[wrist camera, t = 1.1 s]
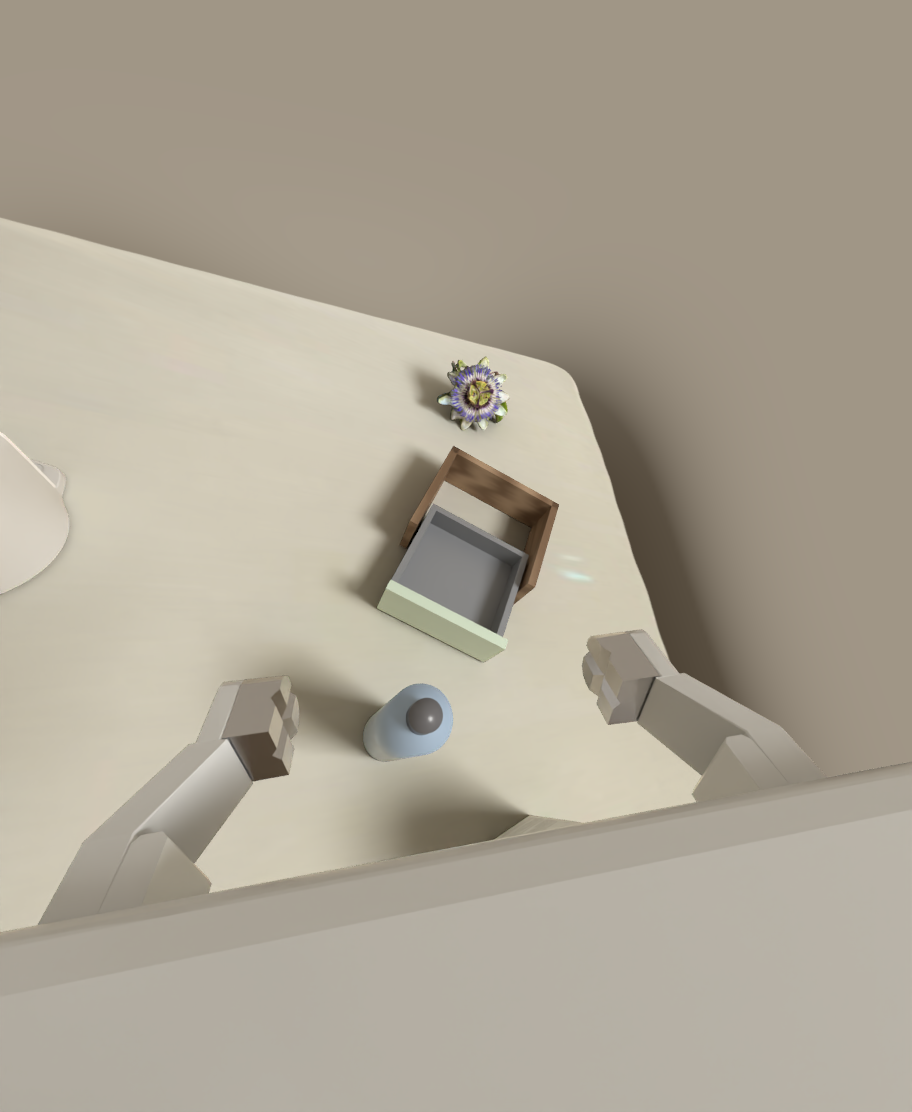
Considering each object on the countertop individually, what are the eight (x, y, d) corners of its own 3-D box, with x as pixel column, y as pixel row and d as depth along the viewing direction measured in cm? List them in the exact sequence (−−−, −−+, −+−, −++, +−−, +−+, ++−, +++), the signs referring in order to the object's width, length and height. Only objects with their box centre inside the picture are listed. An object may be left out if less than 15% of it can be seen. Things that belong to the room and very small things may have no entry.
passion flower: (453, 449, 72) (432, 407, 61) (452, 399, 75) (432, 351, 64) (515, 438, 69) (505, 392, 58) (511, 386, 72) (501, 334, 61)
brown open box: (399, 544, 52) (409, 520, 47) (440, 472, 61) (453, 445, 56) (513, 604, 54) (535, 587, 49) (538, 526, 62) (559, 504, 57)
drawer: (376, 608, 47) (385, 588, 42) (425, 519, 55) (437, 494, 50) (483, 662, 48) (505, 649, 43) (515, 568, 57) (536, 547, 52)
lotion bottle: (354, 749, 40) (380, 735, 27) (376, 701, 42) (410, 668, 30) (398, 770, 40) (445, 766, 27) (418, 721, 43) (469, 697, 30)
